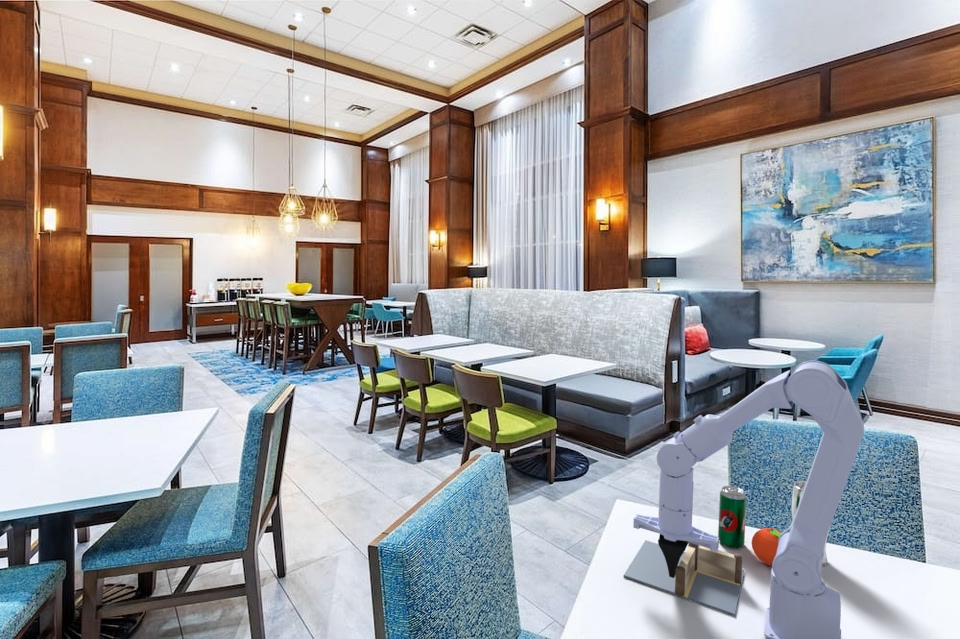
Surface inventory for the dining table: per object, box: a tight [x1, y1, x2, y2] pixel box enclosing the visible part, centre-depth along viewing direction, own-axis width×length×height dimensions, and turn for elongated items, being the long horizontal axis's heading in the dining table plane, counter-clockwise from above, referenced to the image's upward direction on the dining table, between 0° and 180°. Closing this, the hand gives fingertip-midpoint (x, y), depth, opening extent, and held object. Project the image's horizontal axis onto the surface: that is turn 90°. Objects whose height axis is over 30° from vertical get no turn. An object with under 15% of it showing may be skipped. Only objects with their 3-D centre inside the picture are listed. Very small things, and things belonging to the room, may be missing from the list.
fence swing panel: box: [675, 546, 695, 597], centre depth 89 cm, size 10×2×5 cm, turn 144°
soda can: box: [717, 485, 747, 549], centre depth 103 cm, size 5×5×12 cm
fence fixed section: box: [687, 542, 744, 585], centre depth 91 cm, size 9×2×5 cm, turn 55°
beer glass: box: [791, 480, 832, 567], centre depth 97 cm, size 7×7×15 cm
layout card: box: [623, 540, 745, 617], centre depth 92 cm, size 19×15×1 cm
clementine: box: [751, 527, 783, 567], centre depth 95 cm, size 8×7×7 cm
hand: (672, 574), depth 88 cm, fingers closed
